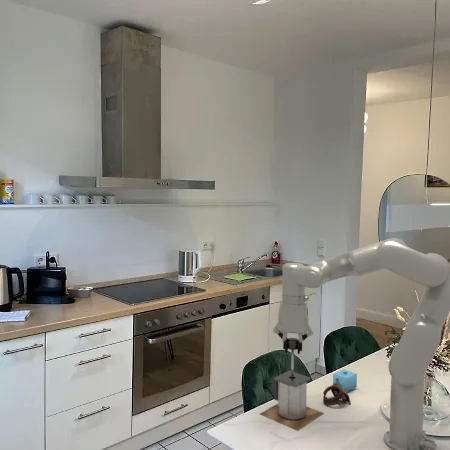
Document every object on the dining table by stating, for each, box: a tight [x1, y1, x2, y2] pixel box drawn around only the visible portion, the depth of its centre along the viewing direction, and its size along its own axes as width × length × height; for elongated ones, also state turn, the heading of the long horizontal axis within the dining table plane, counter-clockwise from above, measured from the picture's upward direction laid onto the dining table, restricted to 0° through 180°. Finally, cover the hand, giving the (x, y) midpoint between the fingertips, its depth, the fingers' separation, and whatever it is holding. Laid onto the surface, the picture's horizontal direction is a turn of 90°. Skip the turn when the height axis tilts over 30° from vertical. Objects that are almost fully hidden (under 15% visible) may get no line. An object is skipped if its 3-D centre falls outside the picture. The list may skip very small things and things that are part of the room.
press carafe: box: [273, 370, 311, 421], centre depth 156 cm, size 12×10×13 cm
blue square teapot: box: [332, 369, 358, 394], centre depth 177 cm, size 12×6×8 cm, turn 131°
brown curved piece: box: [322, 383, 352, 407], centre depth 165 cm, size 12×10×8 cm
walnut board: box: [259, 403, 325, 432], centre depth 155 cm, size 16×16×1 cm
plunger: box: [287, 337, 299, 379], centre depth 154 cm, size 7×7×16 cm
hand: (292, 351), depth 154 cm, fingers closed on plunger, 3 cm apart
